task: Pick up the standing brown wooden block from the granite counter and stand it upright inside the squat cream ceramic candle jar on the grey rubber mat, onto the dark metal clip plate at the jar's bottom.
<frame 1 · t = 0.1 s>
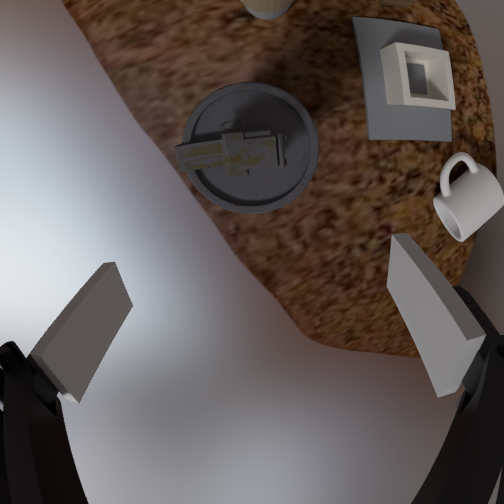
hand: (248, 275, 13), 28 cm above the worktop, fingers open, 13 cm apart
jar: (409, 78, 29), resting on mat
mat: (406, 78, 30), on the worktop
canister: (257, 132, 36), on the worktop
mug: (451, 183, 36), on the worktop
coffee cup: (266, 3, 26), on the worktop
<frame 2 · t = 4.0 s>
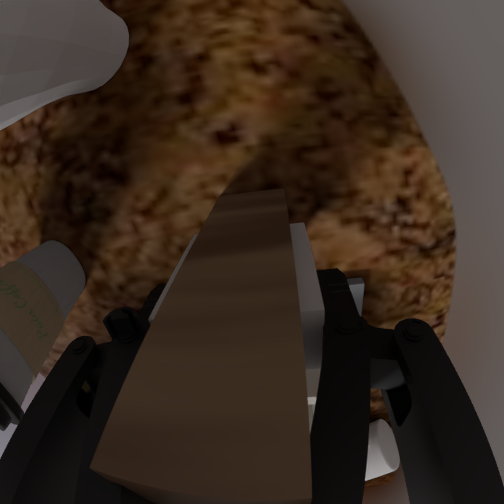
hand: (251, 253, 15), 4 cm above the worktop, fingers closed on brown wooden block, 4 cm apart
cup: (93, 51, 13), on the worktop
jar: (277, 372, 24), resting on mat
brown wooden block: (256, 221, 18), on the worktop, touching gripper
mat: (277, 366, 25), on the worktop
mug: (345, 428, 31), on the worktop
coffee cup: (61, 268, 22), on the worktop
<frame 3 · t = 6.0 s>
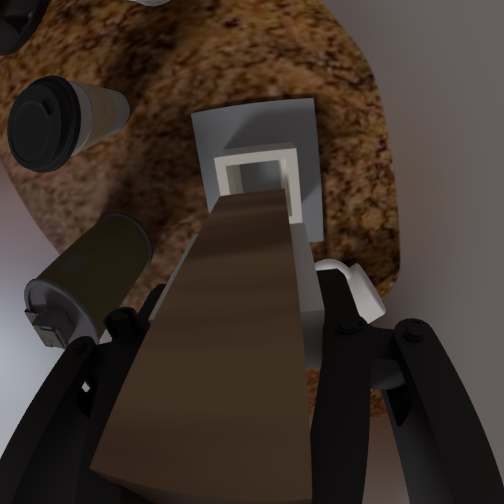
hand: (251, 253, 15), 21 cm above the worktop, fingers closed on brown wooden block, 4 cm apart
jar: (261, 178, 33), resting on mat
brown wooden block: (256, 222, 18), point 17 cm above the worktop, touching gripper
mat: (261, 176, 34), on the worktop
canister: (120, 244, 40), on the worktop
mug: (329, 280, 41), on the worktop
coffee cup: (111, 112, 30), on the worktop
when the fingers open (8 cm above the worktop, at t = 8.1 s): brown wooden block drops 2 cm, resting on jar.
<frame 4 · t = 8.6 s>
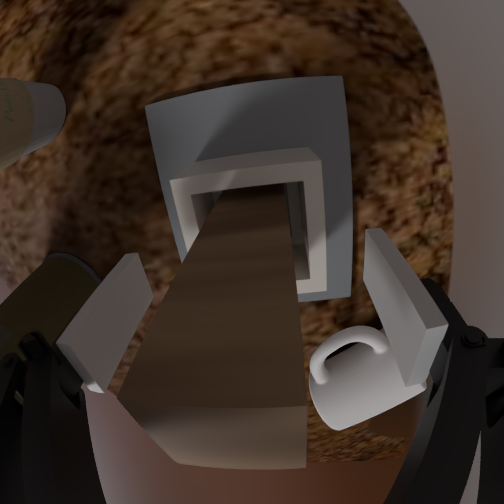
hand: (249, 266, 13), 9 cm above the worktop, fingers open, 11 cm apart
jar: (258, 206, 21), resting on mat
brown wooden block: (257, 212, 20), point 2 cm above the worktop, touching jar
mat: (258, 203, 22), on the worktop
canister: (74, 291, 28), on the worktop
mug: (353, 340, 28), on the worktop
coffee cup: (45, 114, 18), on the worktop
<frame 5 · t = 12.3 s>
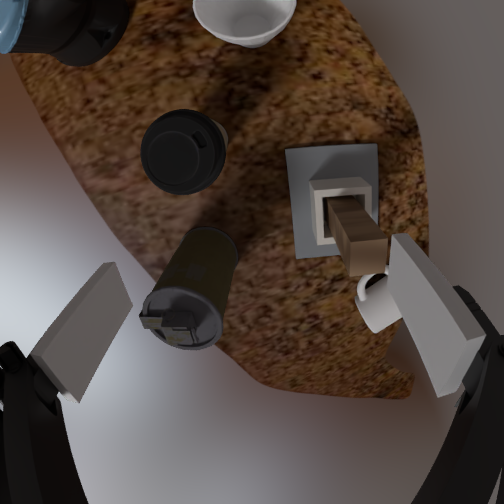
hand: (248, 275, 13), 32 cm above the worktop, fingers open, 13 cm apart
cup: (252, 30, 32), on the worktop
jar: (336, 203, 42), resting on mat
brown wooden block: (337, 205, 41), point 2 cm above the worktop, touching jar
mat: (335, 201, 43), on the worktop
canister: (207, 254, 49), on the worktop
mug: (376, 280, 50), on the worktop
coffee cup: (208, 139, 40), on the worktop
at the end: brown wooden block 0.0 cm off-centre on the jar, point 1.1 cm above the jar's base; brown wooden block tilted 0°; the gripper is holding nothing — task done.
